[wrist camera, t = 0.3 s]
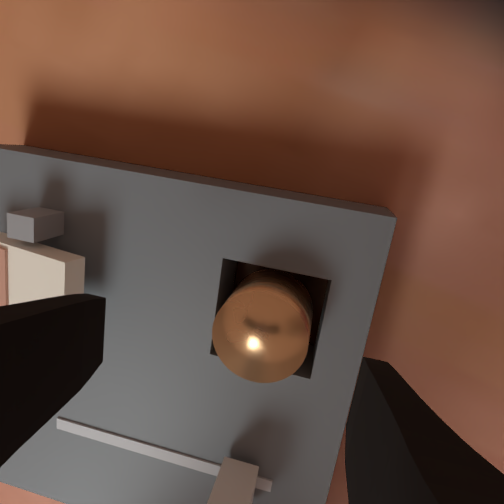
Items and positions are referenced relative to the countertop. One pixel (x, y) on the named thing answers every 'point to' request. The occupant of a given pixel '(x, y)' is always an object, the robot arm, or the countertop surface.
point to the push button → (264, 327)
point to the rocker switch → (37, 271)
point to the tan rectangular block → (234, 483)
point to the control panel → (190, 329)
